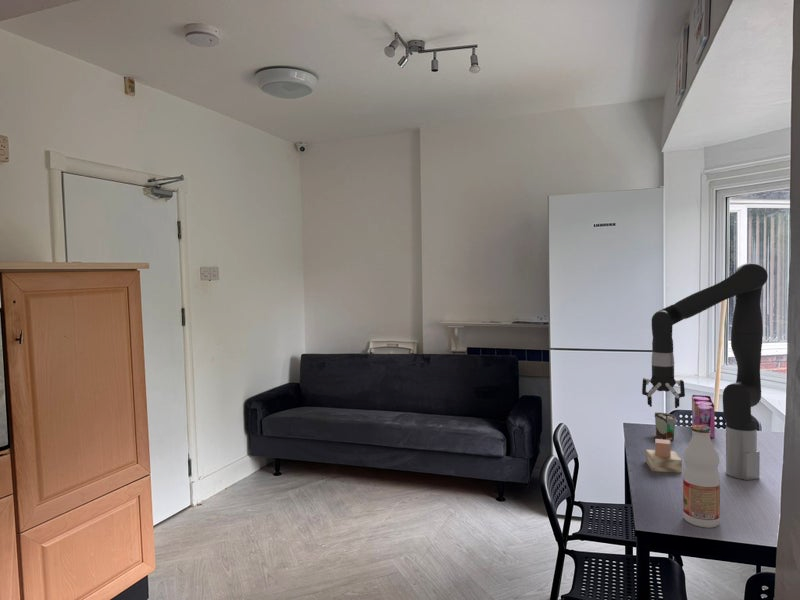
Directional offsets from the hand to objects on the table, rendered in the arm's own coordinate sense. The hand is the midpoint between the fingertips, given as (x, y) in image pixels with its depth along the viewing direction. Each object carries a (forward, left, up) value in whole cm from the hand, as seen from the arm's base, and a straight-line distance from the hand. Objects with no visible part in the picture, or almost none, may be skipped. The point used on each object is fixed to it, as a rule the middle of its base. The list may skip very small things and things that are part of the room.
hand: (663, 406), depth 198 cm
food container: (+25, -26, -23) cm, 43 cm away
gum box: (+29, -50, -23) cm, 62 cm away
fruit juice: (-39, +23, -23) cm, 50 cm away
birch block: (-1, +1, -23) cm, 23 cm away
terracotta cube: (-1, +1, -18) cm, 18 cm away
